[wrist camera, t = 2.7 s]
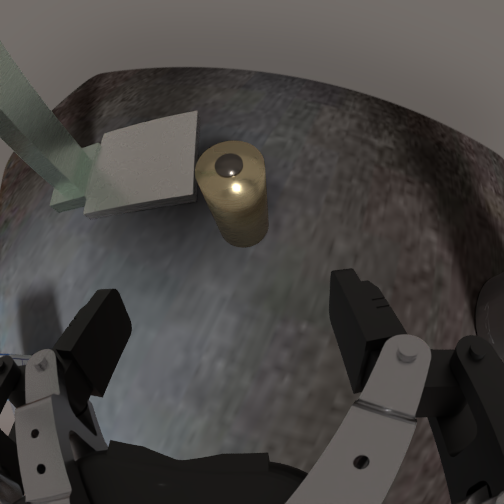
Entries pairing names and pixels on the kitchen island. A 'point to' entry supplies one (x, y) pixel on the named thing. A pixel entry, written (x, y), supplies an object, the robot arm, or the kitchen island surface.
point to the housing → (235, 191)
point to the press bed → (100, 154)
